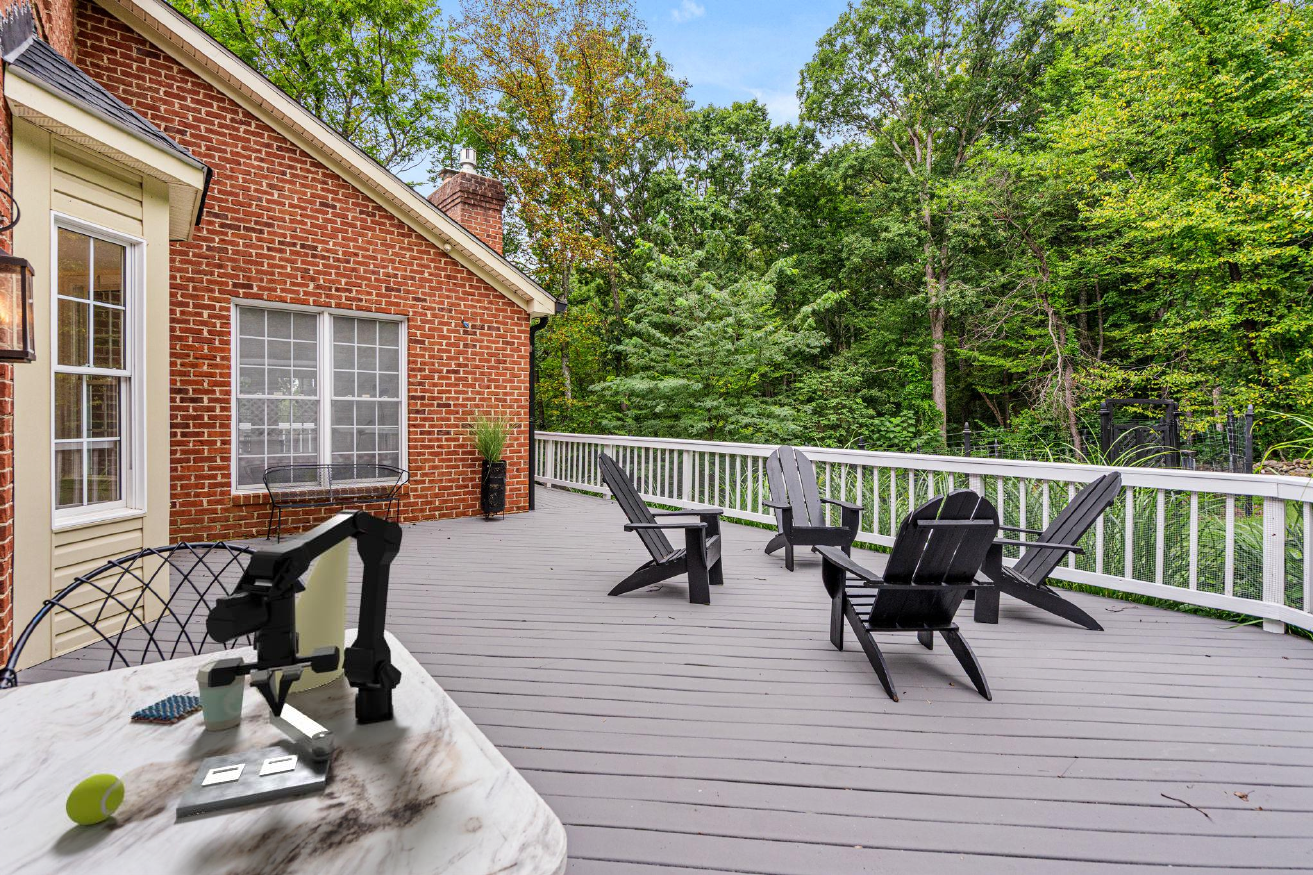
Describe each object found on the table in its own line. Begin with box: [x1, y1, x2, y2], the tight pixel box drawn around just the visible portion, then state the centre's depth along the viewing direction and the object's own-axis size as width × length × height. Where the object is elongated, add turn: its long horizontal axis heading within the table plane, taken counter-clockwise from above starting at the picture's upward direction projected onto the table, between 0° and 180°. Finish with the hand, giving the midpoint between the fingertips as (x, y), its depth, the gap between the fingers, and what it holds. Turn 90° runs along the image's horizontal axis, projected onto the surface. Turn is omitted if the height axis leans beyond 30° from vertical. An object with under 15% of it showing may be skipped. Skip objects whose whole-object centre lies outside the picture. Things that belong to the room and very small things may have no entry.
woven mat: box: [130, 694, 202, 724], centre depth 136 cm, size 10×11×2 cm
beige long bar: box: [268, 703, 334, 756], centre depth 118 cm, size 21×3×3 cm, turn 50°
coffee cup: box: [195, 657, 246, 732], centre depth 129 cm, size 8×8×12 cm
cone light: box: [254, 537, 352, 695], centre depth 152 cm, size 25×18×35 cm
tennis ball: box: [65, 773, 125, 826], centre depth 98 cm, size 7×7×7 cm
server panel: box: [175, 742, 334, 819], centre depth 110 cm, size 21×16×2 cm
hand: (278, 715), depth 110 cm, fingers closed
